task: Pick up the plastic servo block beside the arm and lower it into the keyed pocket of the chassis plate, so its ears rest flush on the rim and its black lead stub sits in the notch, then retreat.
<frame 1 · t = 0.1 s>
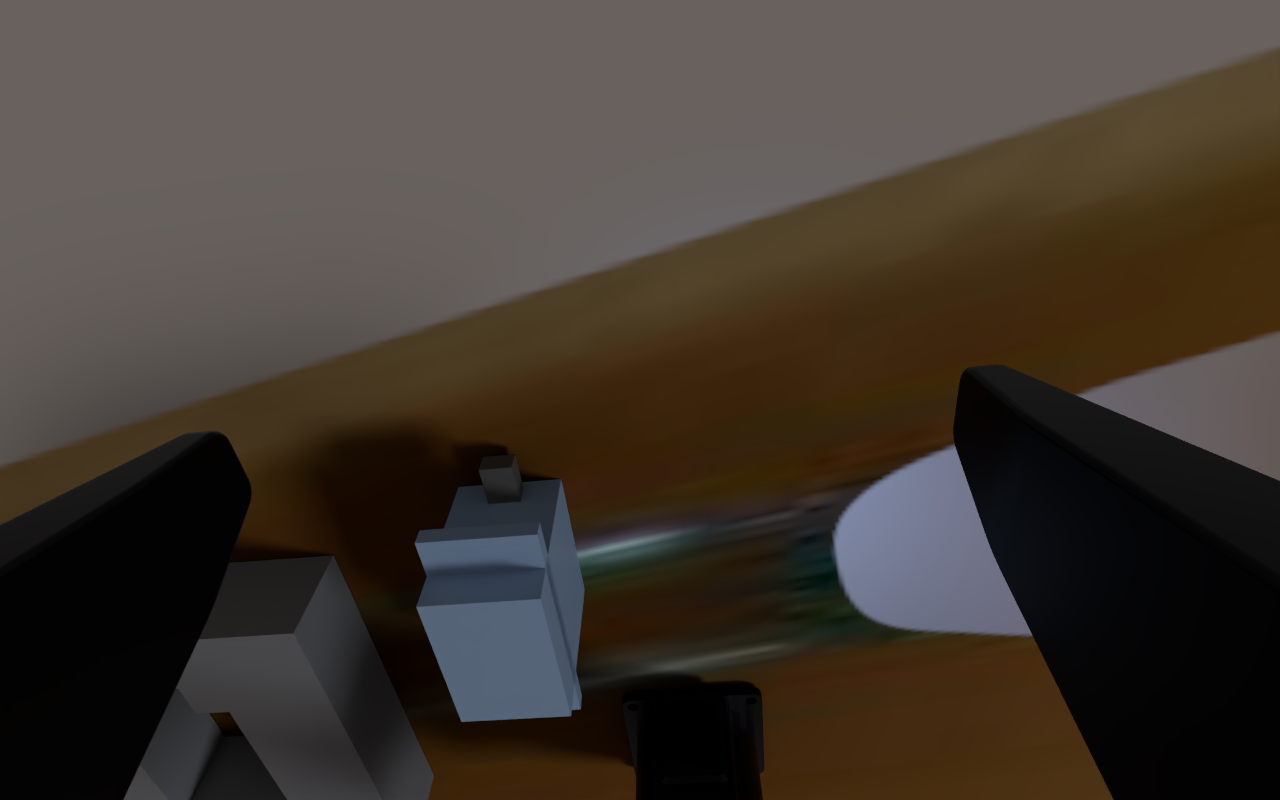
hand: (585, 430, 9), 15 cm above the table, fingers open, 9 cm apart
chassis: (247, 687, 35), on the table
servo: (524, 540, 30), on the table
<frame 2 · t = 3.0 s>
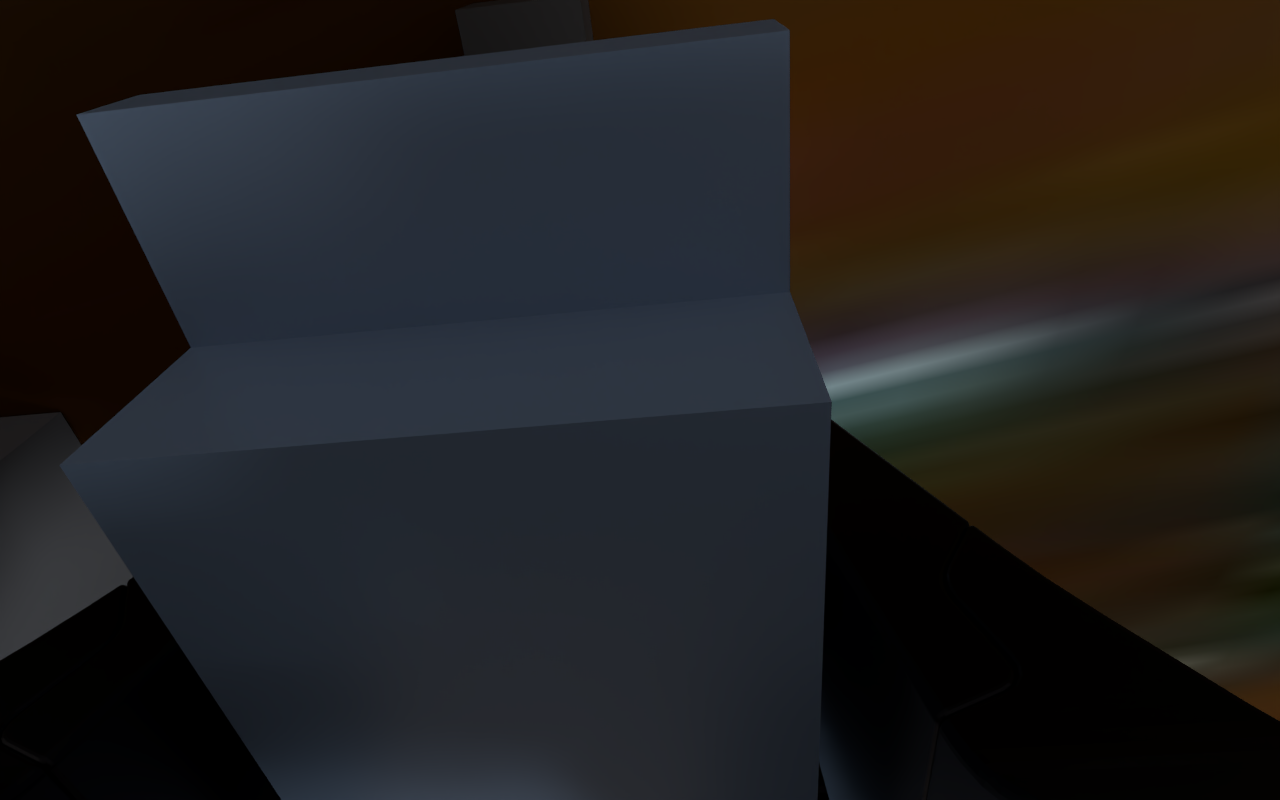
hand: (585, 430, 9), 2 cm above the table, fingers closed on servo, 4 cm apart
servo: (594, 363, 10), on the table, touching gripper
when the fingers open (4 cm above the table, at t = 8.1 s): servo drops 3 cm, resting in chassis.
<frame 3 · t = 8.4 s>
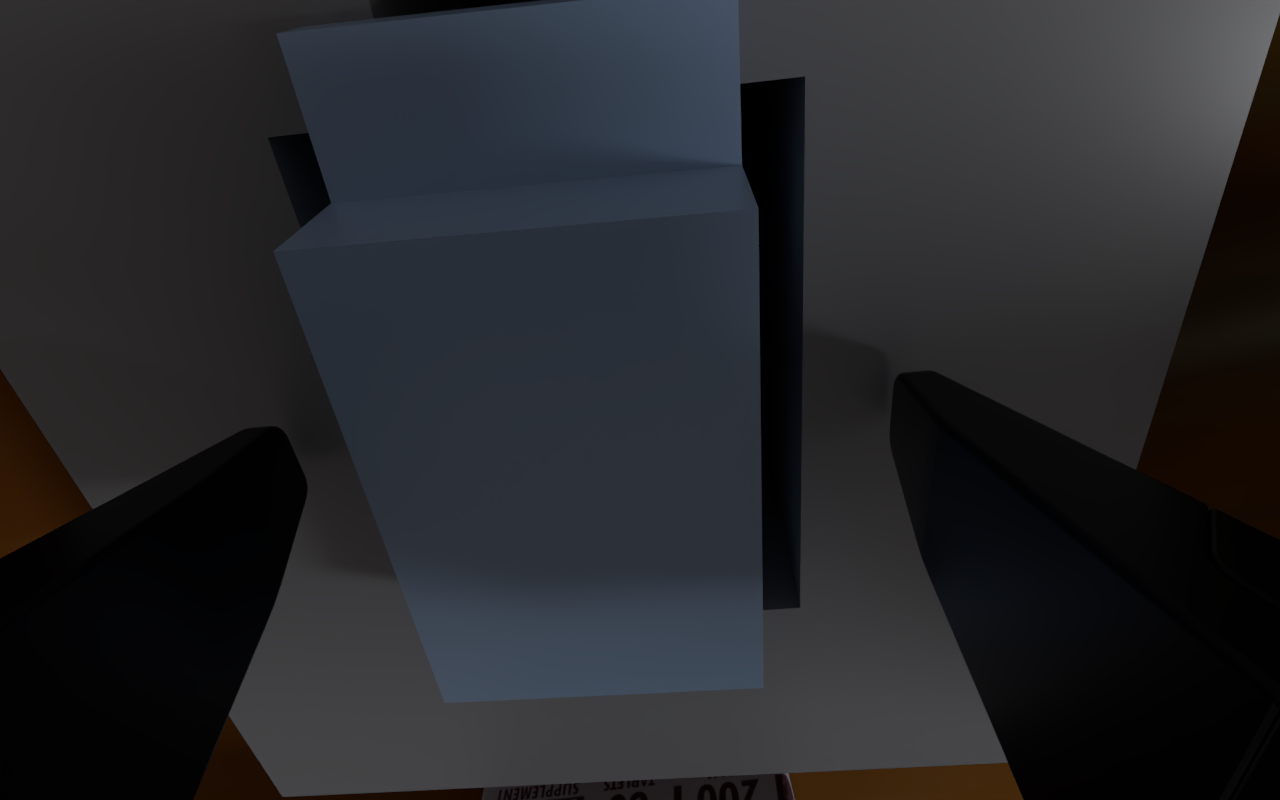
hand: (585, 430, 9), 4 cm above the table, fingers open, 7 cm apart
supplement box: (643, 796, 21), on the table
chassis: (603, 288, 13), on the table
servo: (601, 280, 13), resting in chassis
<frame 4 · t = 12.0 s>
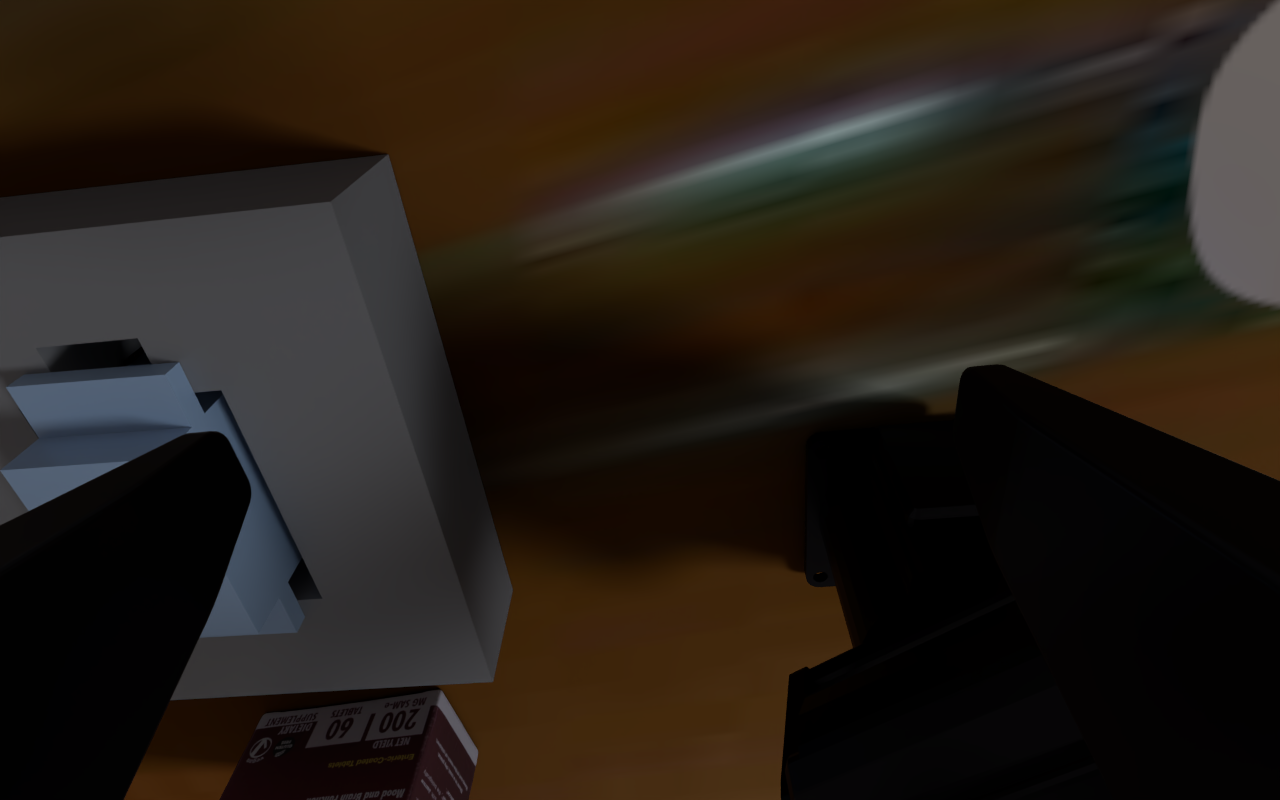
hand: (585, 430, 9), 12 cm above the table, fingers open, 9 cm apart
supplement box: (372, 725, 33), on the table
chassis: (250, 429, 24), on the table
servo: (249, 425, 24), resting in chassis
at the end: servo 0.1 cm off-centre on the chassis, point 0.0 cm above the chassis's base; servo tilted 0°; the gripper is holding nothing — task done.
